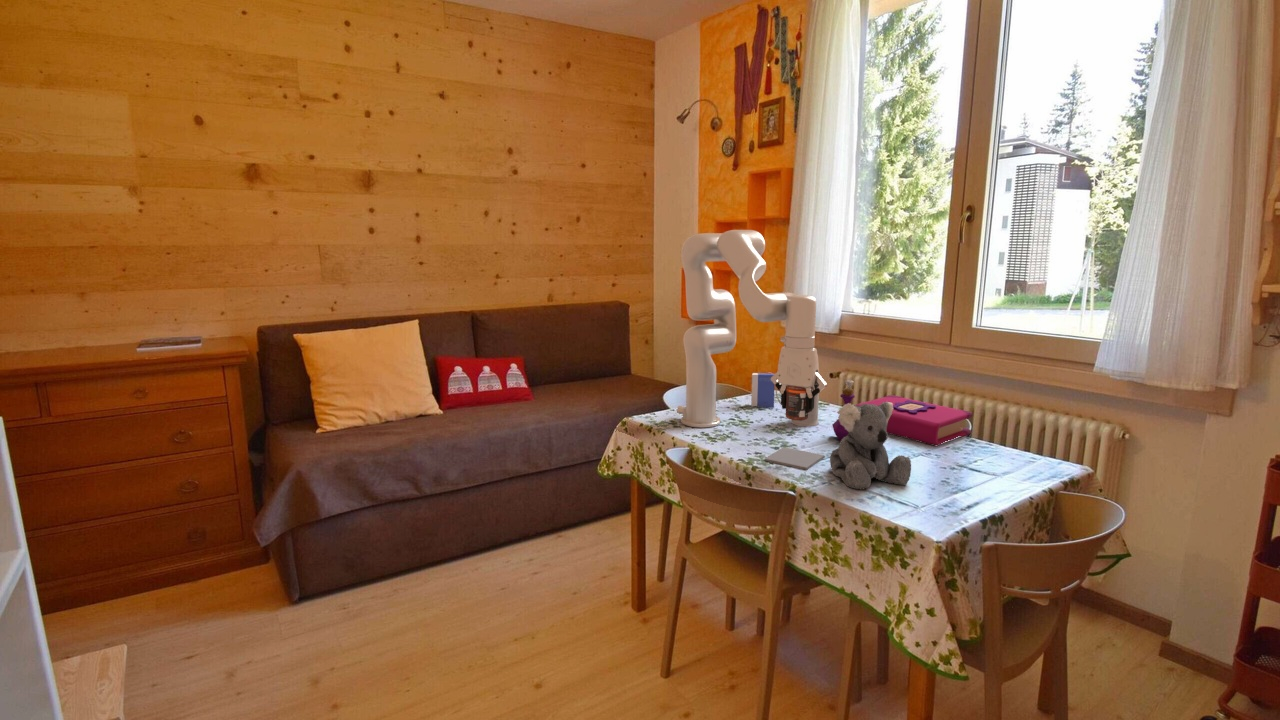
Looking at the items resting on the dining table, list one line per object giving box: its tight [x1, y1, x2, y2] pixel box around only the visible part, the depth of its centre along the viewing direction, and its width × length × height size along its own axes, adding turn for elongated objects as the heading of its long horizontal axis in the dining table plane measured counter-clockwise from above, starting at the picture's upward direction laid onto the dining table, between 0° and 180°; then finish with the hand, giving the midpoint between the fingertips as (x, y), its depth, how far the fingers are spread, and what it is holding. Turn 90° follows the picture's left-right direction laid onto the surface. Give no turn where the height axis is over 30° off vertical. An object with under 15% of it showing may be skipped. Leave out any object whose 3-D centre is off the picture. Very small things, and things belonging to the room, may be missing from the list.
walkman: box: [750, 371, 776, 408], centre depth 233 cm, size 8×3×12 cm, turn 85°
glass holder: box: [775, 384, 820, 428], centre depth 213 cm, size 9×14×15 cm, turn 89°
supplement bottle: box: [785, 385, 809, 421], centre depth 177 cm, size 6×6×11 cm
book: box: [855, 394, 973, 446], centre depth 206 cm, size 21×28×8 cm
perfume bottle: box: [831, 380, 856, 442], centre depth 195 cm, size 8×8×18 cm
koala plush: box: [829, 402, 912, 490], centre depth 166 cm, size 17×18×20 cm
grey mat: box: [764, 446, 826, 471], centre depth 180 cm, size 12×12×1 cm
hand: (797, 408), depth 177 cm, fingers closed on supplement bottle, 6 cm apart
